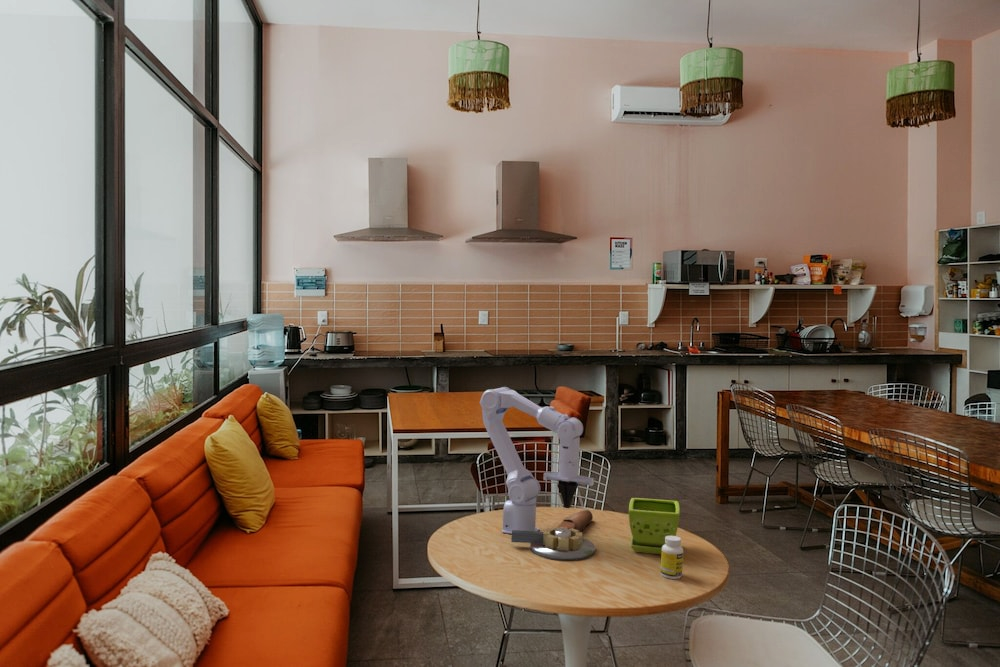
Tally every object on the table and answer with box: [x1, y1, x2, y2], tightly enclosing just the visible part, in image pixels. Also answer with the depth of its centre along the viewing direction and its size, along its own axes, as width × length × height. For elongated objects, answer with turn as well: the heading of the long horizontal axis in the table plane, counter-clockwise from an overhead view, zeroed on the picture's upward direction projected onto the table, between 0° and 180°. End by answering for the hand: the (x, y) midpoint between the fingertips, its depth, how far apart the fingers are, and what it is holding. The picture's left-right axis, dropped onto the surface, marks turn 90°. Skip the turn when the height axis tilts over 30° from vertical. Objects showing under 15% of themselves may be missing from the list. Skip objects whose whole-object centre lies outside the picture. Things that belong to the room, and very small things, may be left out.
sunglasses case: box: [555, 509, 594, 533], centre depth 223 cm, size 18×7×7 cm
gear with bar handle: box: [510, 526, 584, 551], centre depth 203 cm, size 11×20×3 cm, turn 87°
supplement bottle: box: [660, 535, 684, 580], centre depth 186 cm, size 5×5×10 cm
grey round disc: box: [529, 528, 596, 562], centre depth 203 cm, size 18×18×5 cm
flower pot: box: [628, 497, 681, 555], centre depth 205 cm, size 14×14×13 cm
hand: (567, 507), depth 209 cm, fingers closed
